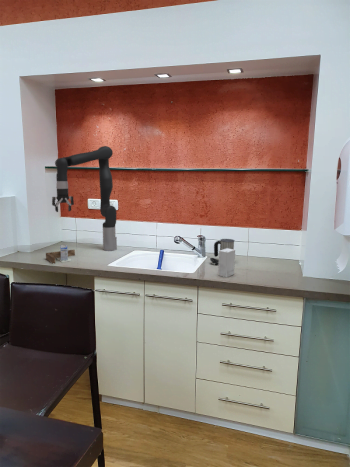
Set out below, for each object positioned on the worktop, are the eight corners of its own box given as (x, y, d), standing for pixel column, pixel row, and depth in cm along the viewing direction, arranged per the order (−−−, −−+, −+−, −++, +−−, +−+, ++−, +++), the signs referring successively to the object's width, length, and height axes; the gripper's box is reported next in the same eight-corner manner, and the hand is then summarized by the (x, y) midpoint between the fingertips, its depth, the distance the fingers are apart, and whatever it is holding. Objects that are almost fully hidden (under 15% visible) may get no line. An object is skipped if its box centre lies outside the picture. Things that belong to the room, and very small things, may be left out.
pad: (66, 257, 235) (66, 256, 235) (72, 260, 226) (72, 260, 226) (56, 258, 231) (56, 258, 231) (61, 262, 222) (61, 261, 222)
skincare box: (226, 272, 203) (227, 247, 200) (234, 274, 199) (235, 249, 196) (217, 275, 197) (218, 250, 194) (226, 277, 193) (227, 251, 190)
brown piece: (74, 255, 241) (73, 249, 241) (82, 259, 230) (82, 253, 229) (46, 258, 230) (45, 253, 229) (52, 263, 218) (52, 257, 218)
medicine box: (60, 258, 231) (60, 245, 230) (67, 257, 233) (67, 244, 231) (61, 260, 224) (60, 247, 223) (68, 260, 226) (67, 247, 224)
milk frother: (234, 261, 230) (235, 239, 227) (230, 267, 215) (231, 243, 212) (213, 259, 234) (214, 237, 232) (208, 264, 219) (209, 242, 217)
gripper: (53, 188, 229) (54, 212, 231) (74, 188, 237) (75, 211, 240) (50, 187, 235) (51, 211, 237) (70, 187, 243) (71, 210, 246)
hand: (63, 211), depth 239 cm, fingers open, 8 cm apart
